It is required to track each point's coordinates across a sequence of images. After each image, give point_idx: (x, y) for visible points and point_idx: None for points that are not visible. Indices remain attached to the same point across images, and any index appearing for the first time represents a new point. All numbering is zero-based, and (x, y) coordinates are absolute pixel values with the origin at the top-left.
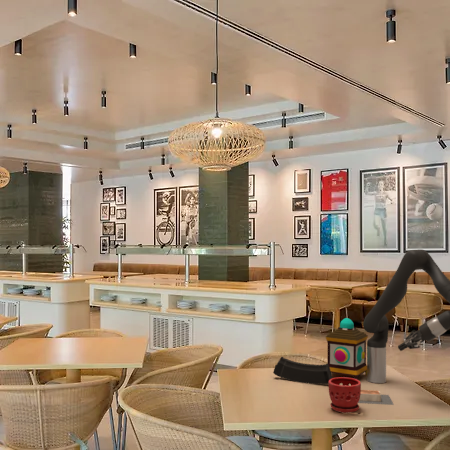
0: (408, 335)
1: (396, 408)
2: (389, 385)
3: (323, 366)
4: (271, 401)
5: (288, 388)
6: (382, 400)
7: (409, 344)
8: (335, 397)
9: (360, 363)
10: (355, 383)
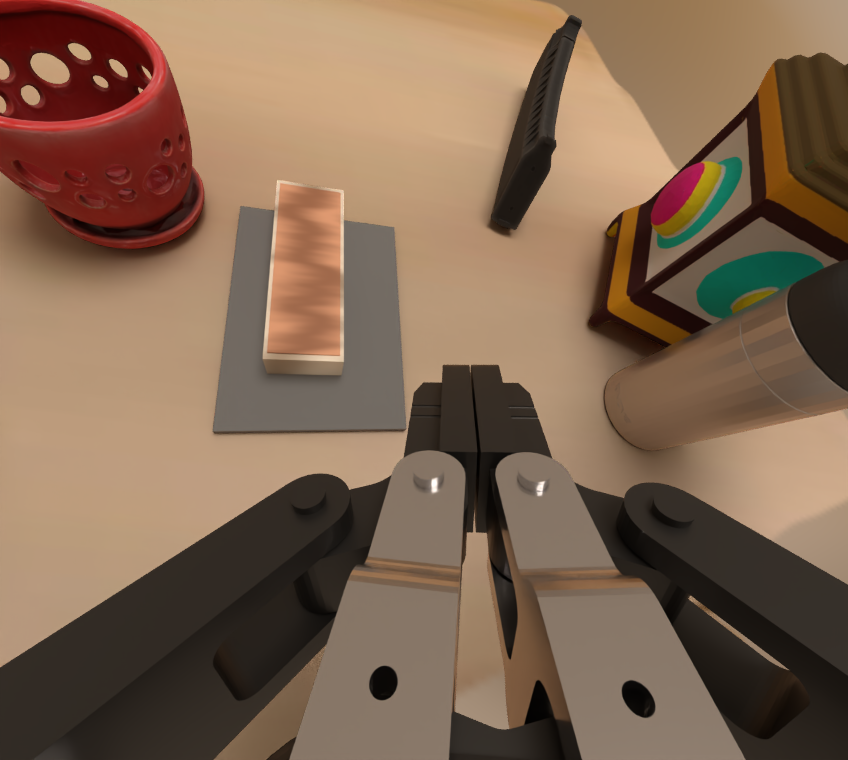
0: (841, 593)
1: (169, 441)
2: (594, 459)
3: (536, 136)
4: (243, 21)
5: (420, 99)
6: (292, 383)
7: (186, 557)
8: (40, 92)
9: (714, 319)
10: (115, 146)
